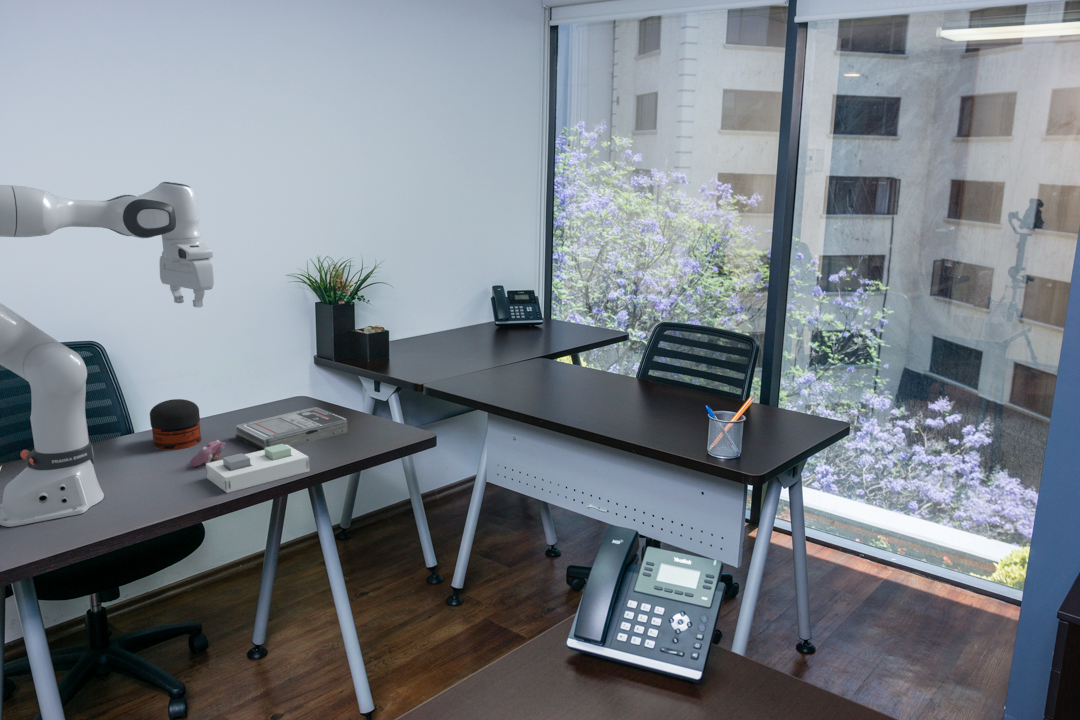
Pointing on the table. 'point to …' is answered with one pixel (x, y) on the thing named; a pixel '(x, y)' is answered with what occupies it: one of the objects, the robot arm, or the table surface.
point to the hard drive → (292, 428)
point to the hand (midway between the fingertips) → (188, 304)
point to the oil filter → (175, 424)
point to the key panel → (257, 470)
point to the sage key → (277, 452)
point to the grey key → (236, 462)
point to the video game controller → (208, 453)
